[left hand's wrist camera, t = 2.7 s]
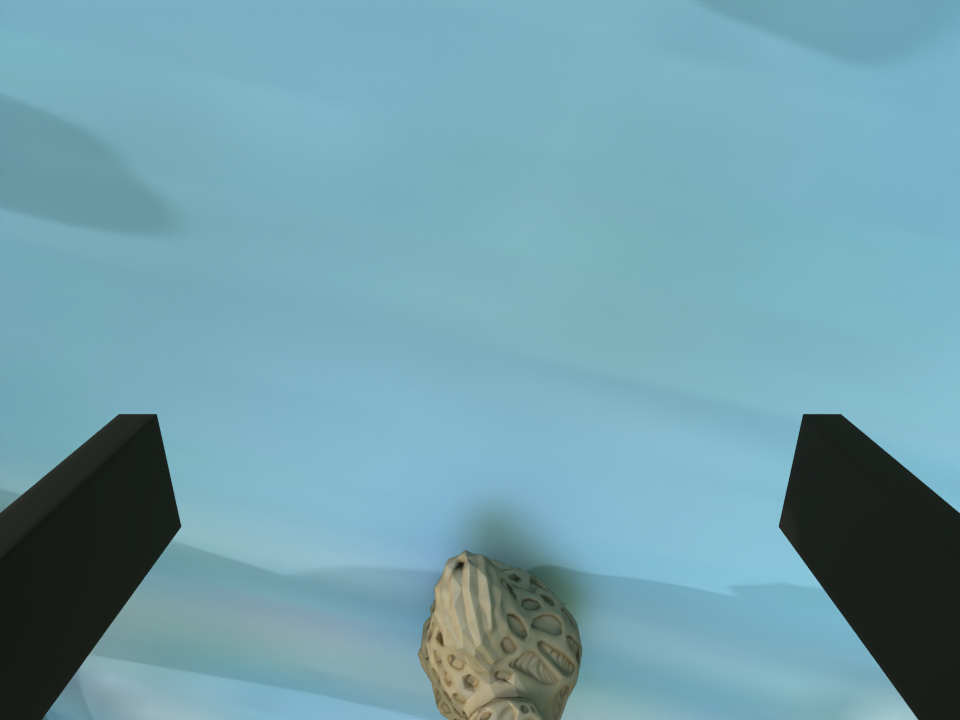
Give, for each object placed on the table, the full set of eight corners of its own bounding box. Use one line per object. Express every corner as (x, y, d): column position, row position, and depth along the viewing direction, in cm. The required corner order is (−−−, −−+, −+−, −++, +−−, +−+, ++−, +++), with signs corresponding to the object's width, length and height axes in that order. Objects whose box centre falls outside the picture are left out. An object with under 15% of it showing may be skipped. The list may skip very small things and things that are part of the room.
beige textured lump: (395, 509, 46) (358, 679, 32) (546, 479, 45) (575, 642, 31) (462, 707, 54) (456, 914, 40) (592, 685, 53) (633, 890, 39)
